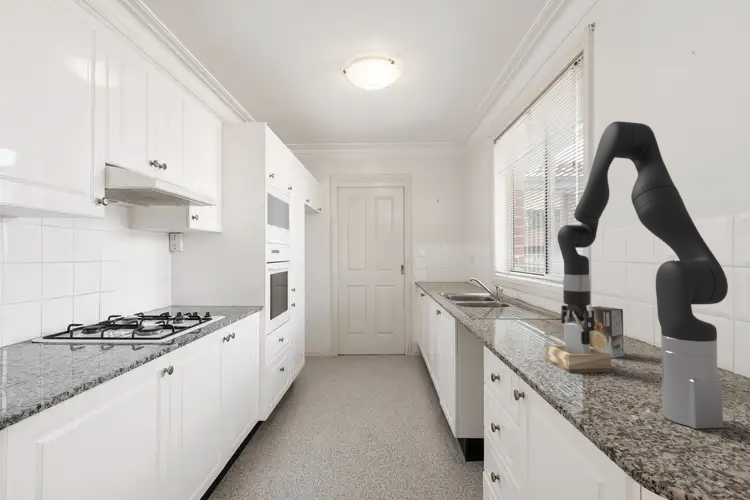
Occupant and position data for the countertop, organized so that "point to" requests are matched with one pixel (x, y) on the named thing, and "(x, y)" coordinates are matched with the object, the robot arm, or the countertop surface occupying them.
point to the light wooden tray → (579, 360)
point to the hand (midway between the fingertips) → (577, 341)
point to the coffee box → (608, 331)
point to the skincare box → (574, 339)
